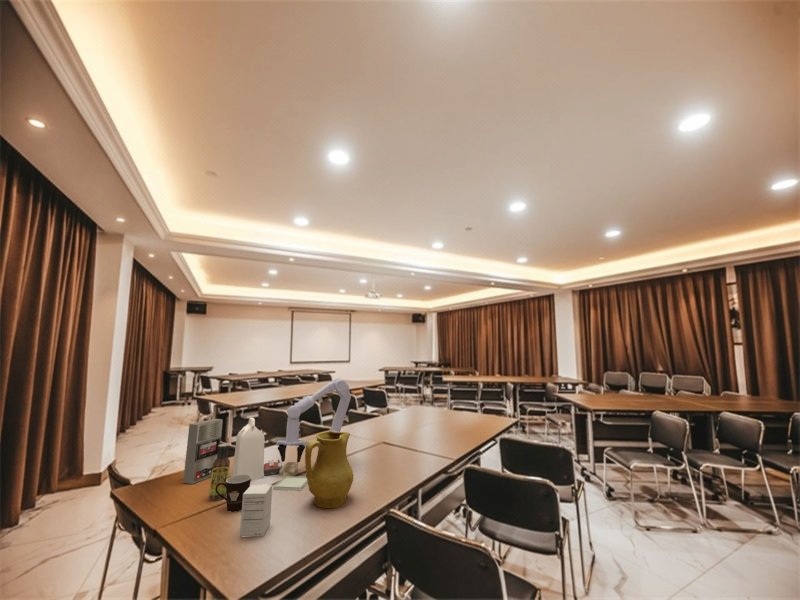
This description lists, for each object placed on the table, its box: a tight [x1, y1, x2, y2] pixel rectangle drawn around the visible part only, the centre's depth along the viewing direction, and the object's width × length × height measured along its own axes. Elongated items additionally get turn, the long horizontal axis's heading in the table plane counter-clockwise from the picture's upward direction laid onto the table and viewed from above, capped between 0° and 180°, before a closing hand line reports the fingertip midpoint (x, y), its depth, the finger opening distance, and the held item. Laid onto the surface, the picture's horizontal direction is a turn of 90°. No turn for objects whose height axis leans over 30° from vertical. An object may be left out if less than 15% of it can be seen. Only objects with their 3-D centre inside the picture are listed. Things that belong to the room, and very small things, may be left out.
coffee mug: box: [215, 475, 252, 513], centre depth 120 cm, size 12×9×10 cm
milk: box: [231, 417, 265, 481], centre depth 152 cm, size 12×12×26 cm
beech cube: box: [282, 461, 299, 478], centre depth 152 cm, size 5×5×5 cm
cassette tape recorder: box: [182, 418, 223, 485], centre depth 150 cm, size 14×6×25 cm, turn 161°
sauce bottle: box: [208, 443, 231, 501], centre depth 129 cm, size 6×6×20 cm
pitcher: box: [304, 430, 354, 509], centre depth 126 cm, size 17×19×25 cm
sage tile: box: [272, 476, 308, 491], centre depth 141 cm, size 12×12×1 cm
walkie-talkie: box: [264, 459, 283, 477], centre depth 160 cm, size 9×4×20 cm
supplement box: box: [239, 483, 273, 538], centre depth 104 cm, size 7×7×13 cm
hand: (290, 461), depth 153 cm, fingers open, 7 cm apart
